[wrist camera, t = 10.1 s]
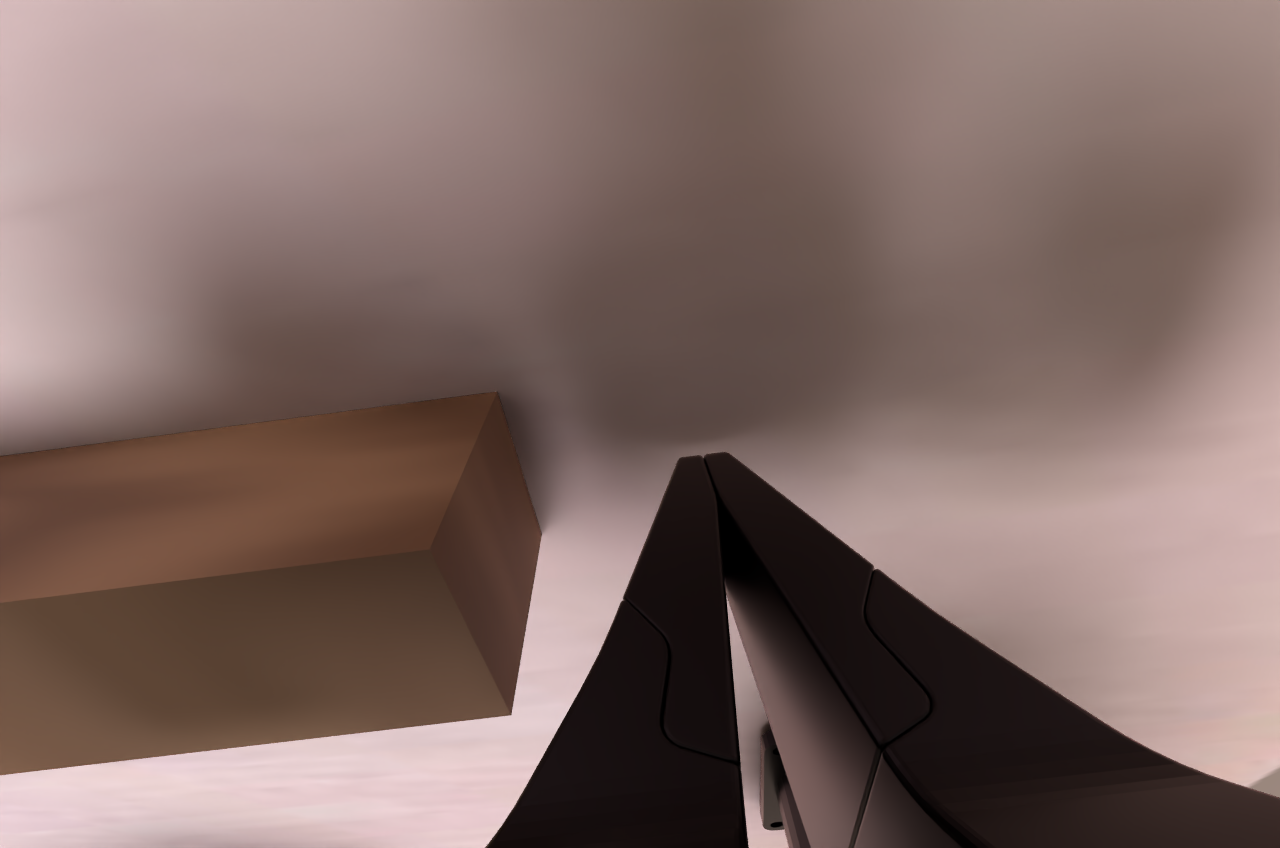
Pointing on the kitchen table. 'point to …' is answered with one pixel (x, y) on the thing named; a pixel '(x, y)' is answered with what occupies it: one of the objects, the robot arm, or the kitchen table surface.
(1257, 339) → the kitchen table surface
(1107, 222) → the kitchen table surface
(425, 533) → the slat
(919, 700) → the robot arm
